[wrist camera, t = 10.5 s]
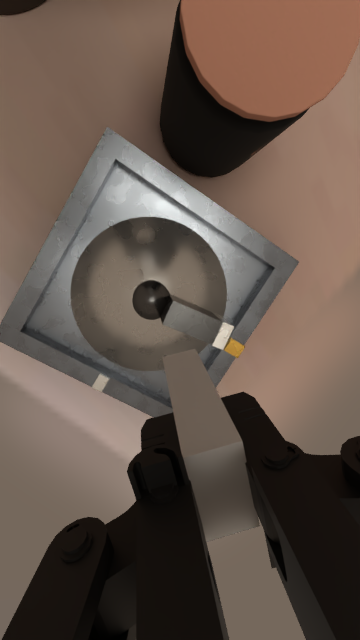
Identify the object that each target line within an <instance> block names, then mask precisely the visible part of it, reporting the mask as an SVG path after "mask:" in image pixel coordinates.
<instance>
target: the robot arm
mask: <svg viewBox="0 0 360 640" xmlns="http://www.w3.org/2000/svg"><path fill="white" fill-rule="evenodd" d="M44 1H45V0H0V14H14V13H19V12H23V11H27V10H29V9H32V8H34V7H36V6H38V5H39V4H41V3H42V2H44ZM162 359H163V363H164V368H165V373H166V378H167V383H168V388H169V393H170V398H171V403H172V408H173V412H172V413H169V414H165V415H162V416H158V417H154V418H151V419H147V420H146V422H145V424H144V425H143V427H142V429H141V441H142V442H141V449H142V451H141V452H140V453H139V454H137V455H136V456H135V457H134V458H133V460H132V461H131V462H130V464H129V467H128V470H127V473H128V476H129V479H130V482H131V485H132V488H133V491H134V494H135V497H136V502H135V503H134V505H132V506H131V507H130V508H129V509H128V510H127V511H126V512H125V513H124V514H122V515H120V516H119V517H117V518H116V519H114V520H112V521H111V522H109V523H107V524H106V525H105V524H104V523H103V522H102V521H101V520H99V519H98V518H93V517H87V518H82V519H79V520H76V521H74V522H73V523H71V524H69V525H67V526H66V527H65V528H64V529H63V530H62V531H60V533H58V534H57V535H56V536H55V538H54V539H53V541H52V542H51V544H50V545H49V547H48V549H47V551H46V553H45V555H44V557H43V559H42V561H41V563H40V565H39V567H38V569H37V571H36V573H35V575H34V577H33V579H32V580H31V582H30V584H29V587H28V589H27V590H26V592H25V594H24V596H23V598H22V600H21V602H20V604H19V606H18V608H17V610H16V613H15V614H14V616H13V618H12V620H11V622H10V624H9V626H8V628H7V630H6V632H5V634H4V636H3V638H2V640H229V637H228V633H227V628H226V624H225V619H224V615H223V610H222V606H221V602H220V597H219V593H218V589H217V584H216V580H215V575H214V571H213V567H212V563H211V559H210V555H209V551H208V548H207V543H206V542H209V541H212V540H215V539H219V538H222V537H225V536H228V535H232V534H235V533H238V532H241V531H245V530H248V529H251V528H255V527H258V526H260V525H259V520H258V517H259V519H260V521H261V524H262V526H263V529H264V532H265V537H266V542H267V547H268V552H269V557H270V562H271V567H272V568H275V567H276V568H277V571H278V573H279V575H280V578H281V580H282V583H283V585H284V588H285V590H286V592H287V595H288V597H289V600H290V602H291V604H292V607H293V609H294V612H295V614H296V616H297V619H298V621H299V624H300V626H301V628H302V631H303V633H304V636H305V638H306V640H360V436H357V437H354V438H351V439H348V440H347V441H346V442H345V443H344V444H342V448H341V451H340V452H341V455H311V454H306V453H304V452H303V451H302V450H301V449H300V448H299V447H298V446H297V445H295V444H293V443H290V442H287V441H285V440H284V438H283V437H282V436H281V434H280V433H279V431H278V430H277V428H276V427H275V426H274V424H273V423H272V422H271V420H270V419H269V417H268V416H267V415H266V414H265V412H264V410H263V409H262V408H261V407H260V405H259V404H258V402H257V401H256V399H255V398H254V397H252V396H250V395H249V394H247V393H245V392H241V393H237V394H233V395H230V396H226V397H223V398H220V396H219V394H218V392H217V390H216V388H215V386H214V384H213V382H212V380H211V378H210V376H209V374H208V372H207V370H206V368H205V367H204V365H203V363H202V361H201V359H200V357H199V355H198V353H197V351H196V349H191V350H188V351H184V352H180V353H176V354H172V355H169V356H165V357H162Z"/></svg>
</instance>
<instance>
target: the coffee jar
mask: <svg viewBox="0 0 360 640" xmlns="http://www.w3.org/2000/svg"><path fill="white" fill-rule="evenodd" d="M359 37H360V0H180V2H179V4H178V7H177V11H176V17H175V23H174V29H173V36H172V42H171V48H170V54H169V60H168V66H167V73H166V79H165V85H164V91H163V97H162V104H161V114H160V128H161V132H162V137H163V142H164V143H165V145H166V147H167V149H168V151H169V153H170V155H171V156H172V158H173V159H174V160H175V161H176V162H177V163H178V164H179V165H180V166H181V167H183V168H184V169H186V170H188V171H190V172H192V173H194V174H196V175H199V176H207V177H215V176H220V175H224V174H227V173H229V172H231V171H232V170H234V169H235V168H237V167H239V166H240V165H241V164H243V163H244V162H245V161H247V160H248V159H249V158H250V157H252V156H253V155H254V154H255V153H257V152H258V151H259V150H260V149H262V148H263V147H264V146H265V145H267V144H268V143H269V142H270V141H272V140H273V139H274V138H276V137H277V136H278V135H279V134H281V133H282V132H283V131H284V130H286V129H287V128H288V127H289V126H291V125H292V124H293V123H294V122H296V121H297V120H298V119H300V118H301V117H302V116H303V115H304V114H305V113H306V112H307V110H308V109H309V108H310V107H311V106H313V105H315V104H316V103H318V102H319V101H321V100H323V99H324V98H325V97H326V96H327V95H328V94H329V93H330V91H331V90H332V89H333V88H334V87H335V85H336V84H337V83H338V82H339V81H340V80H341V78H342V77H343V76H344V74H345V72H346V70H347V68H348V66H349V64H350V61H351V59H352V57H353V55H354V53H355V51H356V48H357V46H358V43H359Z"/></svg>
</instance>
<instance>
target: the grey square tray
mask: <svg viewBox="0 0 360 640" xmlns="http://www.w3.org/2000/svg"><path fill="white" fill-rule="evenodd" d="M137 217H160V218H166V219H169V220H173V221H176V222H178V223H181V224H183V225H185V226H187V227H188V228H190V229H192V230H193V231H195V232H196V233H197V234H199V235H200V236H201V237H202V238H203V239H204V240H205V241H206V242H207V243H208V244H209V245H210V247H211V248H212V249H213V251H214V252H215V254H216V256H217V257H218V259H219V261H220V263H221V266H222V268H223V271H224V275H225V279H226V286H227V302H226V309H225V313H224V317H223V318H225V319H226V320H227V321H228V322H229V323H231V324H232V325H233V326H234V328H233V330H232V332H231V335H230V337H229V339H228V341H227V343H226V345H225V347H224V349H223V350H222V349H219V348H217V347H214V346H212V345H211V344H208V345H207V346H206V347H205V348H204V349H203V350H202V351H201V352H200V353H199V354H198V355H199V357H200V359H201V361H202V363H203V365H204V367H205V368H206V370H207V372H208V374H209V376H210V378H211V380H212V382H213V384H214V386H215V388H216V387H217V385H218V384H219V382H220V381H221V379H222V378H223V376H224V375H225V373H226V372H227V370H228V368H229V367H230V365H231V364H232V362H233V361H234V359H235V358H238V357H239V355H240V354H241V352H242V351H243V349H244V348H245V346H244V344H245V343H246V341H247V340H248V338H249V337H250V335H251V334H252V332H253V331H254V329H255V328H256V326H257V325H258V323H259V322H260V320H261V319H262V317H263V316H264V314H265V313H266V311H267V310H268V308H269V307H270V305H271V304H272V302H273V301H274V299H275V298H276V296H277V295H278V293H279V292H280V290H281V289H282V287H283V286H284V284H285V283H286V281H287V280H288V278H289V277H290V275H291V274H292V272H293V271H294V269H295V268H296V266H297V265H298V263H299V261H297V260H296V259H294V258H293V257H292V256H290V255H289V254H287V253H286V252H284V251H283V250H282V249H280V248H279V247H277V246H276V245H274V244H273V243H272V242H270V241H269V240H267V239H266V238H265V237H263V236H262V235H260V234H259V233H257V232H256V231H255V230H253V229H252V228H250V227H249V226H248V225H246V224H245V223H243V222H242V221H240V220H239V219H238V218H236V217H235V216H233V215H232V214H230V213H229V212H228V211H226V210H225V209H223V208H222V207H221V206H219V205H218V204H216V203H215V202H213V201H212V200H211V199H209V198H208V197H206V196H205V195H203V194H202V193H201V192H199V191H198V190H196V189H195V188H194V187H192V186H191V185H189V184H188V183H186V182H185V181H184V180H182V179H181V178H179V177H178V176H177V175H175V174H174V173H172V172H171V171H169V170H168V169H167V168H165V167H164V166H162V165H161V164H159V163H158V162H157V161H155V160H154V159H152V158H151V157H150V156H148V155H147V154H145V153H144V152H142V151H141V150H140V149H138V148H137V147H135V146H134V145H132V144H131V143H130V142H128V141H127V140H125V139H124V138H123V137H121V136H120V135H118V134H117V133H115V132H114V131H113V130H111V129H110V128H108V127H107V128H106V130H105V132H104V134H103V136H102V138H101V139H100V141H99V143H98V145H97V147H96V149H95V150H94V152H93V154H92V156H91V158H90V160H89V162H88V163H87V165H86V167H85V169H84V171H83V173H82V175H81V176H80V178H79V180H78V182H77V184H76V186H75V187H74V189H73V191H72V193H71V195H70V197H69V199H68V200H67V202H66V204H65V206H64V208H63V210H62V211H61V213H60V215H59V217H58V219H57V221H56V223H55V224H54V226H53V228H52V230H51V232H50V234H49V235H48V237H47V239H46V241H45V243H44V245H43V247H42V248H41V250H40V252H39V254H38V256H37V258H36V259H35V261H34V263H33V265H32V267H31V269H30V271H29V272H28V274H27V276H26V278H25V280H24V282H23V283H22V285H21V287H20V289H19V291H18V293H17V295H16V296H15V298H14V300H13V302H12V304H11V306H10V307H9V309H8V311H7V313H6V315H5V317H4V319H3V320H2V322H1V324H0V342H2V343H4V344H6V345H8V346H10V347H12V348H14V349H16V350H18V351H20V352H22V353H24V354H26V355H28V356H30V357H32V358H34V359H36V360H38V361H40V362H42V363H44V364H46V365H48V366H50V367H53V368H55V369H57V370H59V371H61V372H63V373H65V374H67V375H69V376H71V377H73V378H75V379H77V380H79V381H81V382H83V383H85V384H87V385H89V386H91V387H92V388H93V389H95V390H98V391H100V392H103V393H105V394H107V395H109V396H111V397H113V398H115V399H117V400H119V401H122V402H124V403H126V404H128V405H130V406H132V407H134V408H136V409H138V410H140V411H142V412H144V413H146V414H148V415H150V416H152V417H158V416H162V415H165V414H169V413H172V412H173V408H172V403H171V398H170V393H169V388H168V383H167V378H166V373H165V370H160V371H139V370H133V369H129V368H125V367H122V366H119V365H117V364H115V363H113V362H111V361H109V360H108V359H106V358H104V357H103V356H102V355H100V354H99V353H98V352H97V351H95V350H94V348H93V347H92V346H91V345H90V344H89V343H88V342H87V341H86V339H85V338H84V337H83V335H82V333H81V332H80V330H79V328H78V326H77V323H76V321H75V318H74V315H73V311H72V307H71V298H70V294H71V282H72V276H73V273H74V269H75V266H76V264H77V262H78V260H79V258H80V256H81V254H82V253H83V251H84V250H85V248H86V247H87V246H88V245H89V243H90V242H91V241H92V240H93V239H94V238H95V237H96V236H97V235H99V234H100V233H101V232H102V231H104V230H106V229H107V228H109V227H110V226H112V225H114V224H117V223H119V222H121V221H124V220H128V219H131V218H137Z"/></svg>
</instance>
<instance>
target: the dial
mask: <svg viewBox="0 0 360 640" xmlns="http://www.w3.org/2000/svg"><path fill="white" fill-rule="evenodd" d="M70 298H71V307H72V311H73V315H74V318H75V321H76V323H77V326H78V328H79V330H80V332H81V333H82V335H83V337H84V338H85V339H86V341H87V342H88V343H89V344H90V345H91V346H92V347H93V348H94V350H95V351H97V352H98V353H99V354H100V355H102V356H103V357H104V358H106V359H108V360H109V361H111V362H113V363H115V364H117V365H119V366H122V367H125V368H129V369H133V370H139V371H160V370H165V368H164V363H163V359H162V357H165V356H169V355H172V354H176V353H180V352H184V351H188V350H191V349H196V351H197V353H198V354H199V353H200V352H201V351H202V350H203V349H204V348H205V347H206V346H207V345H208V344H211V345H212V346H214V347H217V348H219V349H222V350H223V349H224V347H225V345H226V343H227V341H228V339H229V337H230V335H231V332H232V330H233V328H234V326H233V325H232V324H231V323H229V322H228V321H227V320H226V319H225V318H223V317H224V313H225V309H226V302H227V286H226V279H225V275H224V271H223V268H222V266H221V263H220V261H219V259H218V257H217V256H216V254H215V252H214V251H213V249H212V248H211V247H210V245H209V244H208V243H207V242H206V241H205V240H204V239H203V238H202V237H201V236H200V235H199V234H197V233H196V232H195V231H193V230H192V229H190V228H188V227H187V226H185V225H183V224H181V223H178V222H176V221H173V220H169V219H166V218H160V217H137V218H131V219H128V220H124V221H121V222H119V223H117V224H114V225H112V226H110V227H109V228H107V229H106V230H104V231H102V232H101V233H100V234H99V235H97V236H96V237H95V238H94V239H93V240H92V241H91V242H90V243H89V245H88V246H87V247H86V248H85V250H84V251H83V253H82V254H81V256H80V258H79V260H78V262H77V264H76V266H75V269H74V273H73V276H72V282H71V294H70Z"/></svg>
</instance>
